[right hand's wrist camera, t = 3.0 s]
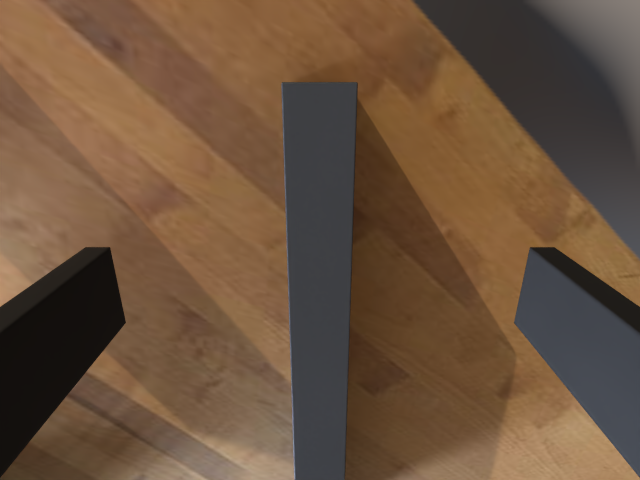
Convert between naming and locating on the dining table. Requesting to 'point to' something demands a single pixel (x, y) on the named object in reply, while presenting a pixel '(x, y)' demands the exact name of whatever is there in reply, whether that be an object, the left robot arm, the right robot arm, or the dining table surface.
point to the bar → (319, 267)
